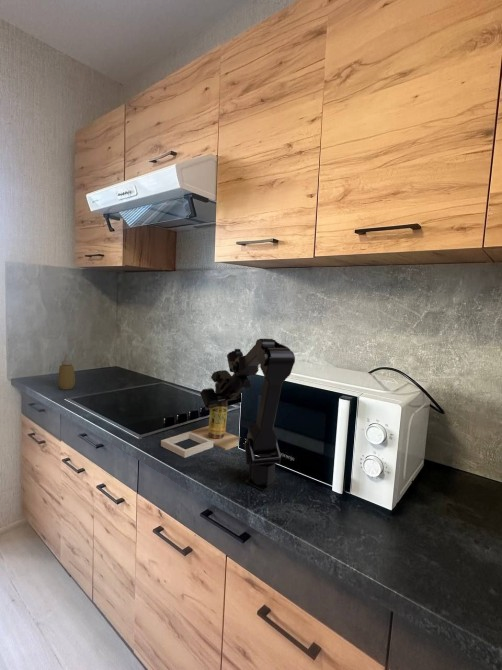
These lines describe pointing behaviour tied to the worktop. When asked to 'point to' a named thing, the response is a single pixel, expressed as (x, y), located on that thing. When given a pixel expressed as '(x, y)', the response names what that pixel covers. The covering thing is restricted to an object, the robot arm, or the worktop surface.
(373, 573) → the worktop surface
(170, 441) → the collar
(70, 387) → the squeeze bottle
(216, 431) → the sauce bottle
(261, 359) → the robot arm
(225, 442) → the wooden board
